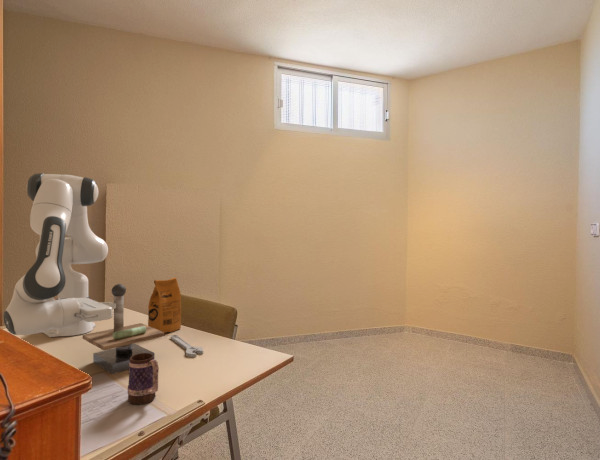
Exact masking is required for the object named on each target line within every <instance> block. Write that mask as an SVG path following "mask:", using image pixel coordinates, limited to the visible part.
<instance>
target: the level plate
mask: <svg viewBox="0 0 600 460" xmlns="http://www.w3.org/2000/svg"><path fill="white" fill-rule="evenodd" d="M126 290H127V289H126V287H125V285H123V284H121V283H117V284H115V285H114V286H112V288H111V294H112V296H113V303H116V308H115V309H113V328H110V329H106V330H100V331H96V332H91V333H84V334H82V340H84V341H86V342H88V343H89V344H92V345H93V346H95V347H97V348H98V349H100V350H101V351H105V350H109V349H113V348H116V347H120V346H125V345H129V344H134V343H135V344H137V343H140V342H144V341H148V340H152V339H157V338H160V337H161V338H162V337H165V333H164V332H162V331H160V330H157V329H155V328H152V327H150V326H148V324H145V323H135V324H129V325H126V326H124V315H125V314H124V313H125V312H124V311H125V310H124V309H125V308H124V305H125V304H124V300H125V299H124V298H125V297H124V296H125V294H126V292H127V291H126Z"/></svg>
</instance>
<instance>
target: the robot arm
mask: <svg viewBox="0 0 600 460" xmlns="http://www.w3.org/2000/svg"><path fill="white" fill-rule="evenodd" d="M26 192H27V196H28V198H29V199H31V201H32V202H33V203H32V205H31V206H32V207H31V210H30V214H29V224H30V228H31V230H32V231H33V232H34V233H35V234H37V235H39V242H38V243H37V245H36V247H35V251H34V252H35V256H36V258H35V261H34V263H33V264H32V266H31V267H30V268H29V269H28V270H27V271H26V273H25V274H24V275H22V277H20V279H19V280H18V281H17V282H16V284H15V285H14V289H13V293H12V298H11V299H10V303H8V306H7V308H6V309H5V310H4V312H3V315H2V317H3V323H4V326H5V328H6V330H7V331H8V332H9V333H10V334H12V335H14V336H28V335H34V334H35V335H36V334H41V333H42V334H45V336H47V337H50V338H56V337H70V336H79V335H85V334H88V333H89V332H91V331H93V330H94V328H95V327H96V323H95V322H101V321H105V320H106V321H107V320H110V319H112V318H114V309H115V308H116V303H114V301H108V302H99V301H96V300H95V299H94V300H93V299H91V298H90V297H91V296H89V278H88V277H87V275H85V274H84V273H82V272H79V271H76V270H74V269H73V268H72V265H85V264H86V265H88V264H95V263H99V262H100V263H101V262H103V261H104V260H105V259H106V258H107V256H108V253H109V247H108V244H107V242H106V241H105V239H103V238H101V237H99V236H97V235H96V234H95V233H94V231H93V230H92V229H91V227H90V225H89V218H88V217H89V216H88V207H91V206H92V205H94V204H95V203H96V201H97V199H98V197H99V187H98V185H97V182H96V180H94V179H93V178H90V177H86V176H84V177H82V176H77V175H72V174H58V173H57V174H56V173H44V172H42V173H41V172H38V173H34V174H32V175H30V176H29V178H28V181H27V183H26ZM66 236H68V237H66ZM56 296H57V298H55V297H56Z"/></svg>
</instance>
